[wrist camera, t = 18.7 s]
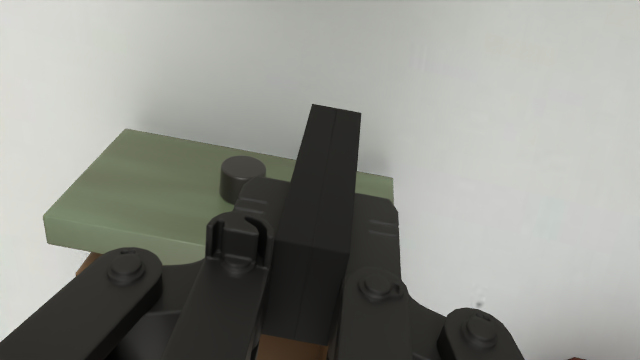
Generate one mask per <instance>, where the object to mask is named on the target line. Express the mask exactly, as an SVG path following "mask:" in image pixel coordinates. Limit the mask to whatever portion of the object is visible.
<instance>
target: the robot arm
mask: <svg viewBox="0 0 640 360" xmlns="http://www.w3.org/2000/svg"><path fill="white" fill-rule="evenodd" d="M360 123H361V113H359V112H353V111H348V110H342V109H337V108H332V107H326V106H321V105H316V104H312V107H311V111H310V114H309V118H308V121H307V125H306V128H305V132H304V136H303V139H302V143H301V146H300V150H299V153H298V157H297V161H296V164H295V168H294V171H293V175H292V178H291V182H288V181H283V180H278V179H272V178H267V177H261V176H254V177H253V178H252V179H250V180H249V181H247V182H246V183H245V184H243V187H242V189H241V191H240V194H239V196H238V199H237V201H236V203H235V206H234V209H233V210H232V211H231V212H225V213H221V214H219V215H217V216H215V217H213V218H212V219H211V220H210V222H209V223H208V224H207V226H206V247H205V258H204V259H202V260H200V261H196V262H193V263H189V264H181V265H163V266H162V262H161V261H160V259H159V258H158V256H157V255H156V254H154V253H152V252H150V251H149V250H147V249H142V248H137V247H123V248H118V249H115V250H111V251H108V252H106V253H105V254H103V255H101V256H100V257H98V258H97V259H96V260H94V261H93V262H92V263H91V264H90V265H89V266H88V267H86V268H85V269H84V270H83V271H82V272H81V273H80V274H78V275H77V276H76V277H75V278H74V279H73V280H71V281H70V282H69V283H68V284H67V285H66V286H65V287H63V288H62V289H61V290H60V291H59V292H58V293H57V294H55V295H54V296H53V297H52V298H51V299H50V300H48V301H47V302H46V303H45V304H44V305H43V306H42V307H40V308H39V309H38V310H37V311H36V312H35V313H33V314H32V315H31V316H30V317H29V318H28V319H27V320H25V321H24V322H23V323H22V324H21V325H20V326H19V327H17V328H16V329H15V330H14V331H13V332H12V333H10V334H9V335H8V336H7V337H6V338H5V339H4V340H2V341H1V342H0V360H256V359H257V355H258V348H259V341H260V336H261V334H264V335H270V336H275V337H280V338H286V339H291V340H296V341H302V342H307V343H312V344H318V345H323V346H328V352H327V356H326V360H524V358H523V356H522V354H521V352H520V350H519V349H518V347H517V345H516V343H515V341H514V339H513V338H512V336H511V334H510V333H509V331H508V330H507V329H506V327H505V326H504V325H503V323H501V322H500V321H499V320H497V319H496V318H495V317H493V316H492V315H490V314H488V313H485V312H483V311H481V310H478V309H472V308H461V309H455V310H454V311H452V312H451V313H450V314H448V315H447V317H445V316H443V315H440V314H438V313H436V312H434V311H431V310H429V309H427V308H426V307H424V306H422V305H420V304H419V303H417V302H416V301H415V300H414V299H412V298H411V296H410V295H409V294H408V290H407V287H406V285H405V284H404V283H403V282H402V280H401V267H400V245H399V228H398V226H399V223H398V211H397V210H396V208H395V207H394V205H393V204H392V202H391V200H390V199H387V198H381V197H376V196H371V195H365V194H360V193H355V186H356V173H357V161H358V148H359V136H360ZM328 342H329V344H328Z"/></svg>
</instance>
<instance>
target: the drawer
mask: <svg viewBox="0 0 640 360" xmlns="http://www.w3.org/2000/svg"><path fill="white" fill-rule="evenodd" d="M296 161H297V160H293V159H288V158H282V157H277V156H271V155H266V154H261V153H255V152H250V151H244V150H239V149H234V148H228V147H223V146H217V145H212V144H207V143H201V142H196V141H190V140H185V139H180V138H174V137H169V136H163V135H158V134H153V133H147V132H142V131H136V130H131V129H124V131H123V132H122V133H121V134H120V135H119V136H118V137H117V138H116V139H115V140H114V141H113V142H112V143H111V144H110V145H109V146H108V147H107V148H106V150H105V151H104V152H103V153H102V154H101V155H100V156H99V157H98V158H97V159H96V160H95V161H94V162H93V163H92V164H91V165H90V166H89V167H88V169H87V170H86V171H85V172H84V173H83V174H82V175H81V176H80V177H79V178H78V179H77V180H76V181H75V182H74V183H73V184H72V185H71V186H70V187H69V189H68V190H67V191H66V192H65V193H64V194H63V195H62V196H61V197H60V198H59V199H58V200H57V201H56V202H55V203H54V204H53V205H52V206H51V208H50V209H49V210H48V211H47V212H46V213H45V214H44V215H43V220H44V226H45V232H46V238H47V243H48V244H52V245H57V246H63V247H68V248H73V249H79V250H84V251H89V252H91V253H90V255H89V256H88V257H87V259H86V260H85V261H84V263H83V264H82V265H81V267H80V268H79V269H78V271H77V272H76V276H77V275H78V274H80V273H81V272H82V271H83V270H84V269H85V268H86V267H88V266H89V265H90V264H91V263H92V262H93V261H94V260H96V259H97V258H98V257H100V256H101V255H103V254H105V253H106V252H108V251H111V250H115V249H118V248H123V247H137V248H142V249H147V250H149V251H150V252H152V253H154V254H156V255H157V256H158V258H159V259H160V261H161V262H162V266H163V265H181V264H189V263H193V262H196V261H200V260H202V259H204V258H205V247H206V226H207V224H208V223H209V222H210V220H211V219H212V218H213V217H215V216H217V215H219V214H221V213H225V212H231V211H232V210H233V209H234V206H235V203H236V201H237V199H238V196H239V194H240V191H241V189H242V187H243V184H245V183H246V182H247V181H249V180H250V179H252V178H253V177H254V176H261V177H267V178H272V179H278V180H283V181H288V182H291V178H292V175H293V171H294V168H295V164H296ZM355 193H360V194H365V195H371V196H376V197H381V198H387V199H390V200H391V202H392V204H393V205H394V197H393V178H390V177H385V176H379V175H374V174H369V173H363V172H358V171H357V173H356V186H355ZM328 344H329V342H328ZM327 352H328V346H323V345H318V344H312V343H307V342H302V341H296V340H291V339H286V338H280V337H275V336H270V335H264V334H261V336H260V341H259V348H258V355H257V359H256V360H326V356H327Z"/></svg>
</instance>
